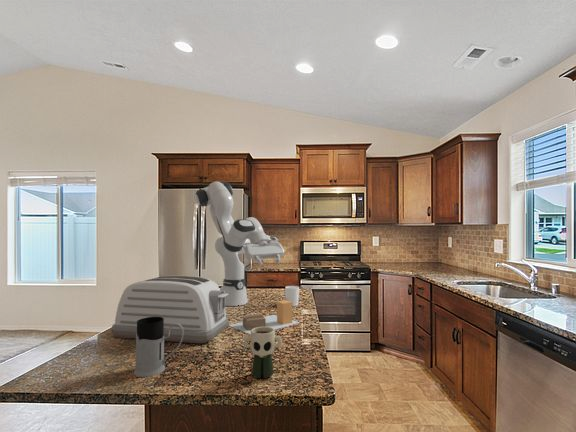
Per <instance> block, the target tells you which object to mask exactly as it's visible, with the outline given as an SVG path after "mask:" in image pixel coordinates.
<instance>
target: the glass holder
mask: <svg viewBox="0 0 576 432" xmlns="http://www.w3.org/2000/svg"><path fill="white" fill-rule="evenodd" d="M173 325H179V326H180V327H181V329H182V337H181V341H180V342H178V345H177V346H176V348H175V349H174V350H173V351H172V352H171V353H170V354H167V356H166V357H164V356H165V341H164V339H166V338H168V337H169V335H170V329H171V327H172V326H173ZM173 325H171V326H170V328H169V330H168V337H164V318H162V317H147V318H143V319H140V320H138V321H137V330H136V339H135V367H134V368H135V369H134V370H133V375H134V376H135V377H140V378H149V377H153V376H156V375H160V374H161V373H163V372H165V370H166V366H165V362H166V360H167V359H168V358H169V357H170V356H172V355H173V354H174V353H175V352H176V351H177V350H178V349H179V347H180V346H181V344H182V343H183V342H182V339H183V332H184V331H183V327H182V326H181V325H180V324H176V323H175V324H173Z"/></svg>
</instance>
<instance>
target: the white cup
mask: <svg viewBox="0 0 576 432" xmlns="http://www.w3.org/2000/svg"><path fill="white" fill-rule="evenodd" d="M284 293H285V300H287V301H290V302H292V307H298V306H299V298H300V286H298V285H287V286H285V291H284Z"/></svg>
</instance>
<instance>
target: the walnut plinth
mask: <svg viewBox="0 0 576 432" xmlns="http://www.w3.org/2000/svg"><path fill="white" fill-rule="evenodd" d="M264 317H265V316H263V315H262V314H261V313H258V314H257V313H256V314H246V315H242V322H243V326H244V327H245V329H246V330H252V329H253V328H256V327H266V319H265V318H264Z"/></svg>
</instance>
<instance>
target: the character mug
mask: <svg viewBox="0 0 576 432" xmlns="http://www.w3.org/2000/svg"><path fill="white" fill-rule="evenodd" d="M248 340H250V344H249V343H248ZM276 340H277V343H276ZM243 346H244V348H247V349H249V348H250V351H251V353H252V354H253V362H252V368H251V375H252V376H253V377H254V378H256V379H257V378H258V379H261V376H262V375H263V379H267V378H270V377H271V376H273V374H274V372H275V371H274V363H273V356H272V355H271V354H273V353H274V352H275V350H276V348H281V347H282V337H281V335H276V329H275V330H274V328H271V327H256V328H253V329H252V330H251V335H246V336H244V338H243Z"/></svg>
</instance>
